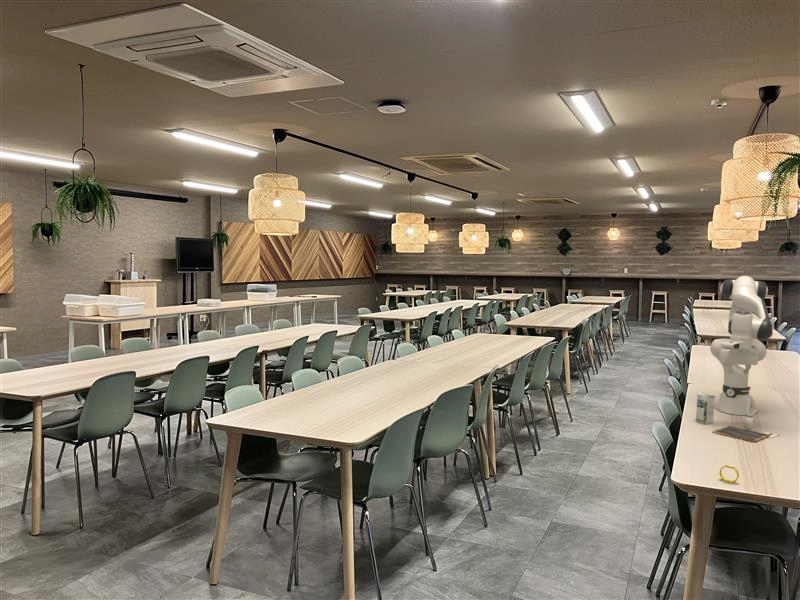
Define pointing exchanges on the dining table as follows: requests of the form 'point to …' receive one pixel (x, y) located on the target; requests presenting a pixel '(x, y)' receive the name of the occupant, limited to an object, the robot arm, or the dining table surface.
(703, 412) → the syrup box
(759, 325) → the robot arm
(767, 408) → the dining table surface
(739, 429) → the brown slatted mat
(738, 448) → the dining table surface
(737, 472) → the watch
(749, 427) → the small white bottle
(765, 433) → the word card
